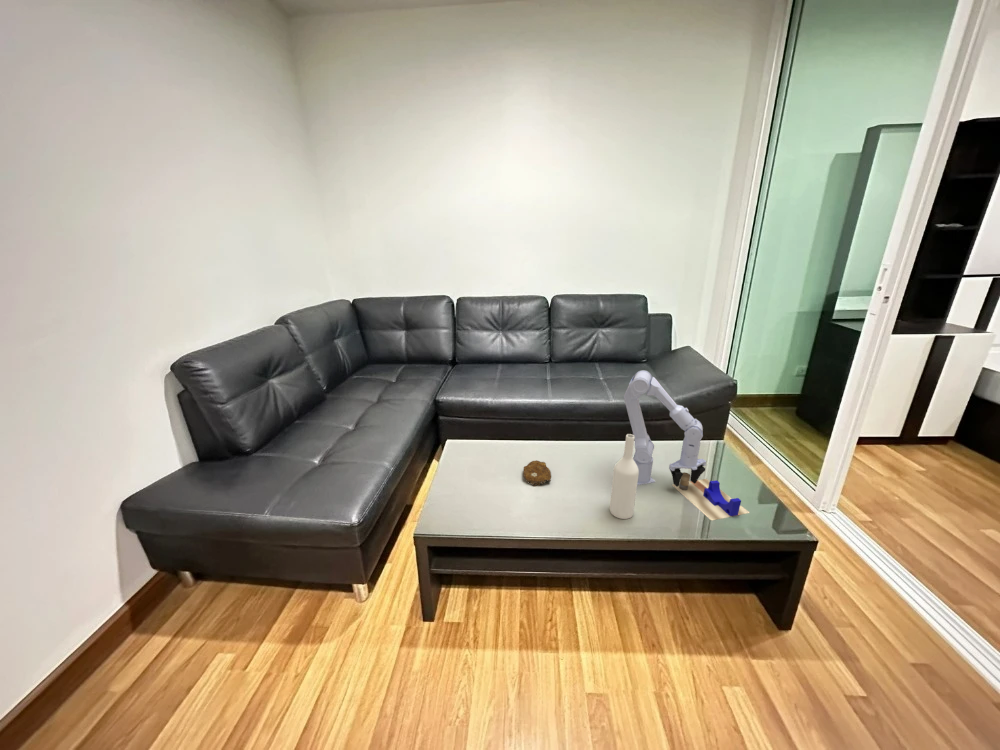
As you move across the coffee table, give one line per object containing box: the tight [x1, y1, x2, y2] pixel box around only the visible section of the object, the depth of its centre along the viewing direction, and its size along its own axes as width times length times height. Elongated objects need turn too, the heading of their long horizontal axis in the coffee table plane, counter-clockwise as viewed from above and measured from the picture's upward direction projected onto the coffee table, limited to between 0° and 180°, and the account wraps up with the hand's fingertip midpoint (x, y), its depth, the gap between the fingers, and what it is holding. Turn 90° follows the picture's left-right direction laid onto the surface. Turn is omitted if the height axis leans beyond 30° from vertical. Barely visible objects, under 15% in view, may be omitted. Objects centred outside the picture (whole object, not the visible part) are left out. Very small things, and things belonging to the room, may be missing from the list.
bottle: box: [609, 433, 639, 520], centre depth 133 cm, size 8×8×30 cm
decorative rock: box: [523, 460, 552, 487], centre depth 159 cm, size 11×4×15 cm
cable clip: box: [703, 480, 742, 517], centre depth 140 cm, size 12×4×6 cm, turn 10°
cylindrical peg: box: [679, 471, 691, 490], centre depth 149 cm, size 3×3×6 cm
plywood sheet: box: [671, 478, 751, 521], centre depth 144 cm, size 16×21×1 cm
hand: (684, 483), depth 149 cm, fingers open, 7 cm apart
